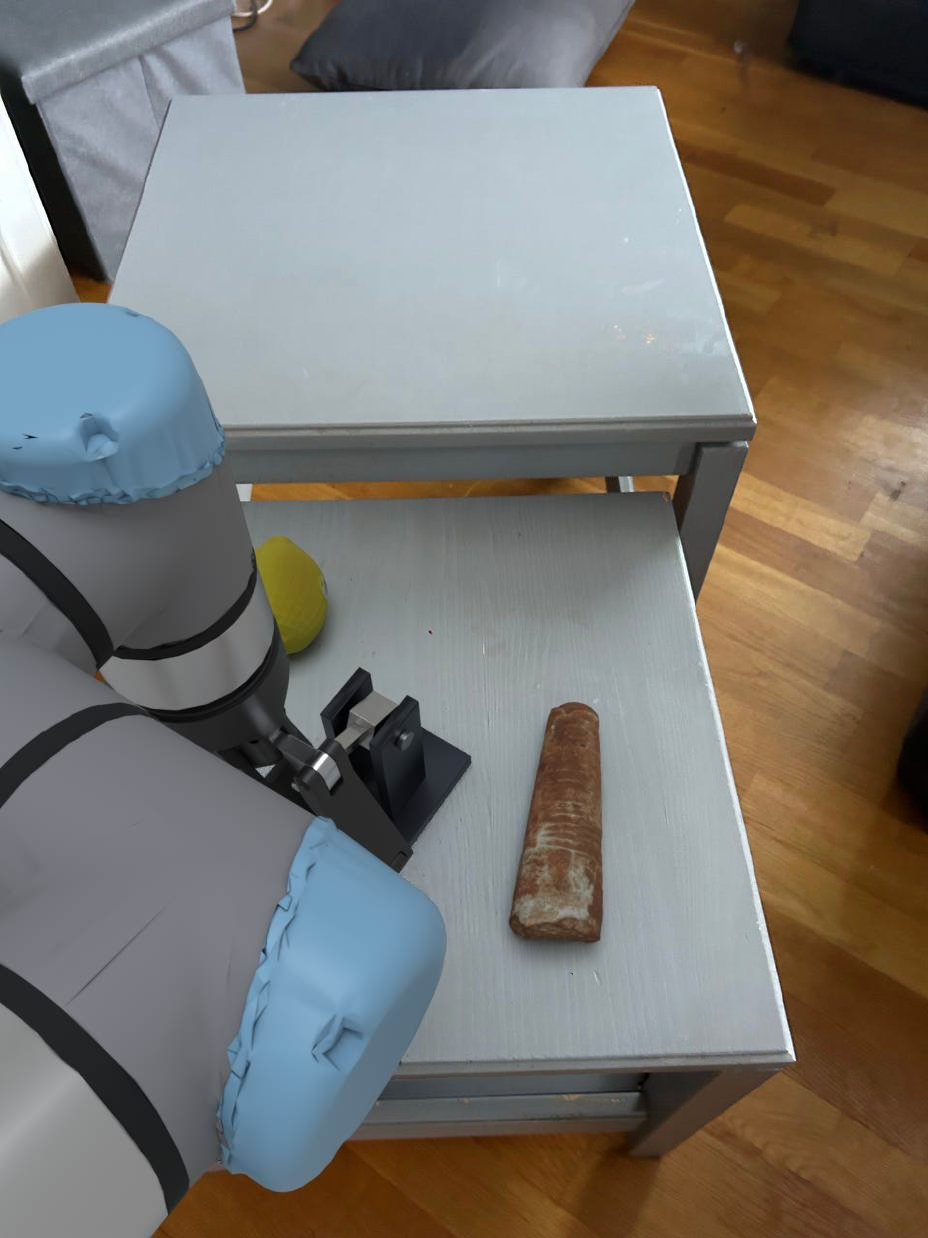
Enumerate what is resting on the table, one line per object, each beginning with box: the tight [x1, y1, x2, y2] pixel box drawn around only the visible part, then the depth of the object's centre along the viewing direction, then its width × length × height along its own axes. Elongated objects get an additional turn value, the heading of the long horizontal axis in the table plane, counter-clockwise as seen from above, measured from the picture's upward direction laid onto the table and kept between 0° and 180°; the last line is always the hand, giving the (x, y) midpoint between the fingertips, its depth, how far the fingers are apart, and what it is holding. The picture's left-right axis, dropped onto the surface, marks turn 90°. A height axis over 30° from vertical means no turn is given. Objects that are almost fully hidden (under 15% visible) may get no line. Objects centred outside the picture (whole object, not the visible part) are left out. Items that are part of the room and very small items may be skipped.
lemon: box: [254, 535, 329, 655], centre depth 79 cm, size 11×8×8 cm
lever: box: [334, 690, 399, 755], centre depth 60 cm, size 13×6×2 cm, turn 147°
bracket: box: [319, 666, 472, 848], centre depth 68 cm, size 11×9×13 cm
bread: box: [508, 701, 604, 944], centre depth 69 cm, size 6×19×6 cm, turn 169°
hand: (275, 828), depth 58 cm, fingers open, 13 cm apart
